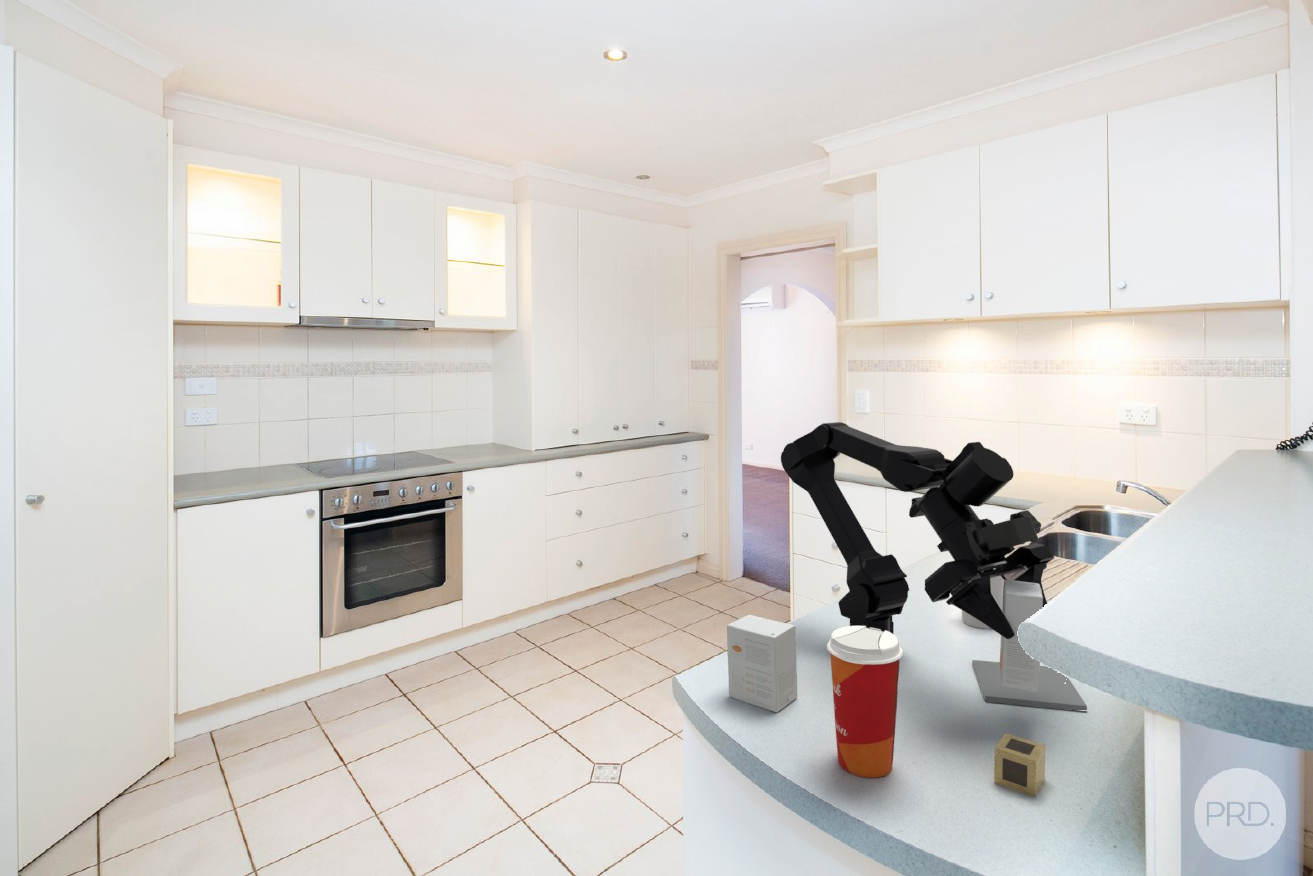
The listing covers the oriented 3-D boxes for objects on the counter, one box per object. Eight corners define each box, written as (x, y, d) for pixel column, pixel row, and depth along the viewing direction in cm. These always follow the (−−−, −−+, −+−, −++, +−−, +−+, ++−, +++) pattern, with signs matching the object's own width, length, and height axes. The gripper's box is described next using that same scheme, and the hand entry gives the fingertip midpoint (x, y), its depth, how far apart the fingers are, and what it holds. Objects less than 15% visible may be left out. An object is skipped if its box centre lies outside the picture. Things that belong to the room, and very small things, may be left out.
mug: (1006, 631, 115) (1007, 562, 114) (963, 628, 117) (963, 560, 116) (996, 611, 125) (996, 548, 124) (956, 608, 127) (957, 546, 126)
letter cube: (1035, 797, 70) (1036, 761, 70) (994, 783, 73) (994, 748, 73) (1044, 780, 73) (1045, 745, 73) (1004, 767, 76) (1005, 733, 76)
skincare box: (998, 667, 88) (1003, 578, 87) (1035, 673, 87) (1040, 583, 85) (999, 686, 83) (1004, 591, 82) (1039, 693, 81) (1044, 596, 80)
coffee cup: (845, 736, 83) (844, 618, 82) (913, 758, 78) (913, 633, 77) (815, 768, 77) (813, 640, 76) (886, 794, 72) (886, 658, 70)
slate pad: (1086, 712, 87) (1086, 706, 87) (985, 701, 91) (985, 695, 91) (1061, 672, 99) (1061, 667, 99) (972, 665, 102) (972, 659, 102)
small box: (798, 698, 93) (797, 625, 93) (776, 714, 89) (775, 637, 88) (750, 682, 99) (748, 613, 98) (727, 697, 95) (726, 624, 94)
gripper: (945, 499, 82) (1027, 615, 73) (1042, 484, 90) (1127, 587, 81) (894, 547, 90) (963, 658, 81) (988, 529, 98) (1060, 628, 89)
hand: (1031, 631), depth 83 cm, fingers closed on skincare box, 7 cm apart
